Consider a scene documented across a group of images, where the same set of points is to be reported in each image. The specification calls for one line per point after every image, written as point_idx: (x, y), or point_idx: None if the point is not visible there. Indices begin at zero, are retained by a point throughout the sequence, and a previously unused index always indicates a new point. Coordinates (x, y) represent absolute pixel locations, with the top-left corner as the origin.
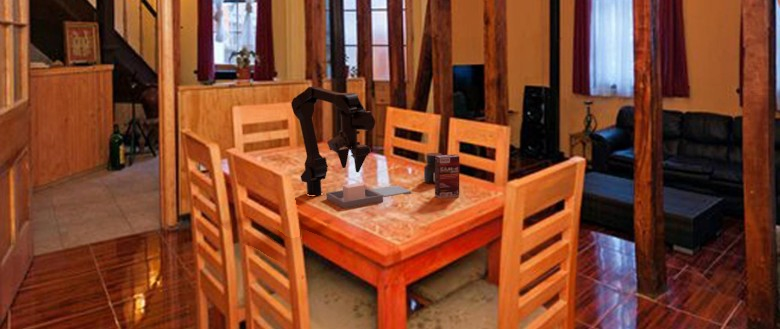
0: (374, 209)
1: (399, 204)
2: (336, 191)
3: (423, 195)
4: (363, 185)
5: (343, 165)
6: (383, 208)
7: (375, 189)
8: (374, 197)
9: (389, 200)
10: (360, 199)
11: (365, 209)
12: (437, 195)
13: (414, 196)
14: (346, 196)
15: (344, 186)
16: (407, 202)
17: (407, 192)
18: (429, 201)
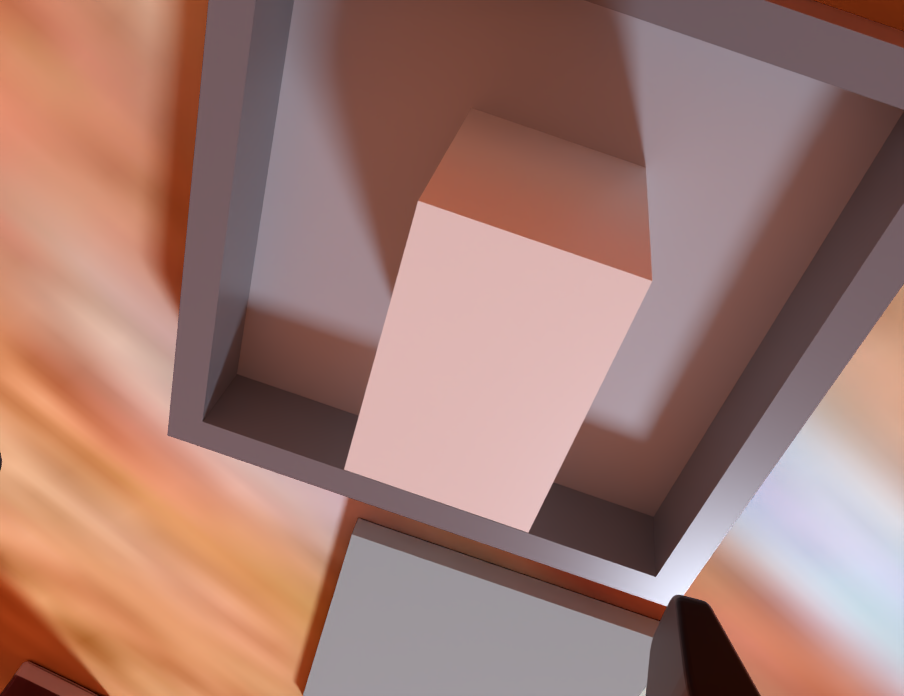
0: (60, 145)
1: (69, 421)
2: (893, 271)
3: (179, 682)
4: (350, 449)
5: (671, 669)
6: (36, 235)
7: (625, 662)
8: (178, 335)
9: (252, 476)
10: (197, 146)
11: (126, 75)
12: (44, 687)
13: (204, 642)
14: (526, 160)
15: (576, 250)
16: (83, 497)
17: (306, 688)
18: (3, 585)
